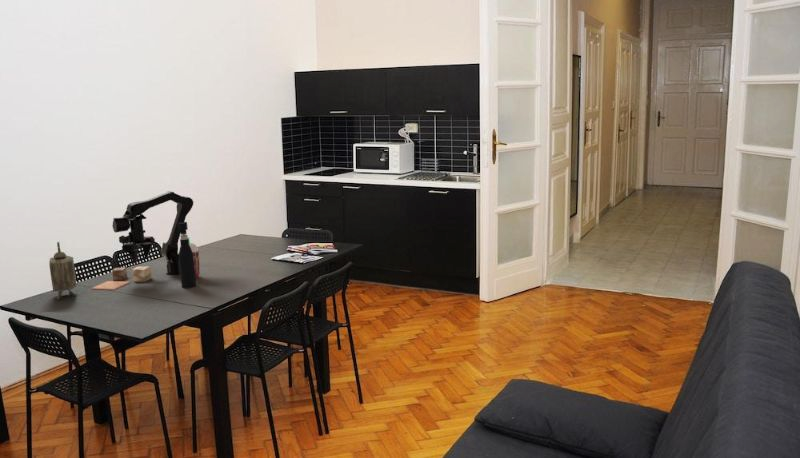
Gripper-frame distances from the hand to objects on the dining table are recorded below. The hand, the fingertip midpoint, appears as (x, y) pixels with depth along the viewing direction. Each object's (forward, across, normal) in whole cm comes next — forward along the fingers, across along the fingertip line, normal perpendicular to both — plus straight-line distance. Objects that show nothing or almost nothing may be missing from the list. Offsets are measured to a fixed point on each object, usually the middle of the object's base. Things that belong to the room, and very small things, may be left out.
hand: (140, 260), depth 336 cm
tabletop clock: (+10, +29, -20) cm, 37 cm away
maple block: (+10, 0, 0) cm, 10 cm away
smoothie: (+10, -5, +24) cm, 26 cm away
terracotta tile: (+9, +12, -9) cm, 18 cm away
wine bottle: (+10, +9, +30) cm, 33 cm away
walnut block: (+10, -1, -13) cm, 16 cm away
